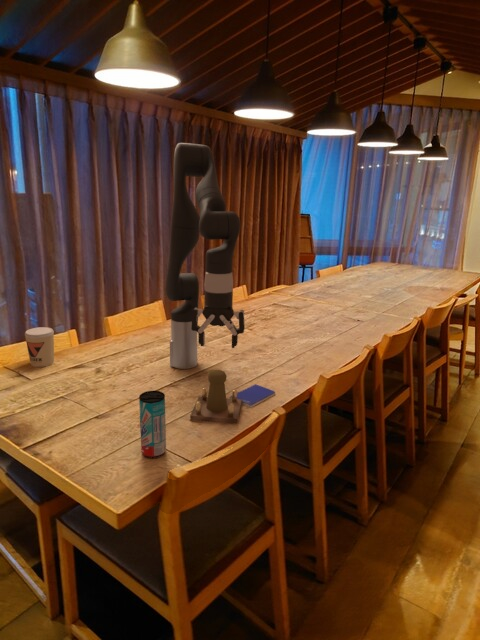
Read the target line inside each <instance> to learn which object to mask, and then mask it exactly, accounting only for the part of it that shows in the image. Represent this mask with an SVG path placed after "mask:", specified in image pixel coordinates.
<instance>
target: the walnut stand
mask: <svg viewBox="0 0 480 640" xmlns="http://www.w3.org/2000/svg"><path fill="white" fill-rule="evenodd" d="M237 393H238V389H236V388H234V389H231V396H232V399H230V397H229V398H228V397H226V400H227V409H226V410H224V411H221V412H212V411H209V410H208V409H207V408H206V405H207V399H208V388H207V387H205V386H203V387H201V396H199V395H198V397H197V399H196V401H195V403H194V406H193V408H192V411H191V414H190V415H189V416H190V421H192V422H193V421H194V422H204V423H205V422H207V423H219V424H234V425H238V422H239V421H238V420H239V417H240V414H241V413H240V412H241V408H242V405H243V404H242V399H237Z"/></svg>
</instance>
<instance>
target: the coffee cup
mask: <svg viewBox="0 0 480 640" xmlns="http://www.w3.org/2000/svg"><path fill="white" fill-rule="evenodd" d="M54 331H55V330H54V329H53V328H52V327H47V326H46V327H44V326H41V327H38V326H37V327H33V328H29V329H27V330H25V332H24V337H25V342H26V347H27V351H28V352H27V353H28V358H29V363H30V365H31V366H32V367H34V368H35V367H36V368H41V367H43V368H44V367H48V366H51V365H53V364H54V363H55V339H54V337H55V336H54V335H55V334H54V333H55V332H54Z"/></svg>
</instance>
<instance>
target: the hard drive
mask: <svg viewBox="0 0 480 640" xmlns="http://www.w3.org/2000/svg"><path fill="white" fill-rule="evenodd" d="M275 395H276V391H274V390H272V389H270V388H267V387H264V386H262V385H259V384H257V383H256V384H253V385H251V386H249V387H247V388H245V389H243V390H240V391H237V399H242V404H241V405H243V406H245V407H248V408H253V407H255V406H256V405H258V404H261V403H262V402H263V401H265V400H267V399H269V398H271V397H273V396H275ZM229 399H232V395H230V396H229Z"/></svg>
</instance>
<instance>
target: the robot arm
mask: <svg viewBox="0 0 480 640" xmlns="http://www.w3.org/2000/svg"><path fill="white" fill-rule="evenodd" d="M186 177H190V178H191V177H192V178H194V177H195V178H202V179H201V180H200V181H199V182H198V184H197V186H196V188H195V200H196V203H197V206H198V210H199V211H198V210H197V208H196V206H195V204H194V203H193V200H192V198H191V196H190V195H189V192H188V189H187V184H186ZM226 205H227V204H226V202H225V199H224V196H223V194H222V192H221V189H220V185H219V182H218V175H217V170H216V164H215V158H214V155H213V151H212V150H211V147H210V146H208V145H205V144H198V143H190V142H178V143H177V144H176V145H175V149H174V155H173V201H172V210H171V219H170V220H171V221H170V237H169V238H170V239H169V241H170V243H169V255H168V256H169V257H168V265H167V272H166V277H165V296H166V297H167V299H168V300H169V301H171V302H179V301H184V302H183V303H182V304H180V305H179V306H178V307H175V308H174V309H172V310H171V312H170V339H169V366H170V367H174V368H176V369H181V370H187V369H194V368H195V367H196V366H198V344H199V345H200V346H201V347H204V346H205V342H206V339H205V337H206V336H205V335H206V334H205V333H206V332H205V329H206V328H208V326H209V325H210V326H211V327H215V326H218V327H224V326H226V328H227V329H228V330H229V331H230V333H231V334H232V335H231V349H235V348H236V347H237V345H238V340H239V339H238V338H239V335H240V334H244V332H245V329H246V328H245V311H244V310H243V309H240V310H235V311H234V308H233V303H234V302H233V301H234V300H233V299H234V298H233V296H234V295H233V293H234V277H233V276H234V275H233V264H234V263H233V259H234V252H235V250H236V249H235V248H236V245H237V241H238V238H239V235H240V231H241V219H240V217H239V215H238V214H237V213H236V212H235V211H230V210H229V211H228V210H227V211H226V209H227V206H226ZM200 235H201V236H202V237H203V238H204V239H206V240H212V241H213V240H223V242H222V244H221V245H220V246H217V247H214V248H209V249H208V250H207V251H206V253H205V272H204V273H205V275H204V284H203V287H204V292H203V293H204V297H203V299H204V305H203V309H202V308H199V296H200V283H199V278H198V276H197V274H196V273H193V272H187V273H186V272H185V273H182V272H181V271H182V267H183V264H184V262H185V261H186V259H187V258H188V256H189V255H190V254H191V253H192V252H193V250H194V249H195V248H196V246H197V243H198V242H199V239H200ZM201 315H203V316H204V318H205V319H206V320H204V322H203V323H202V324H201V325H198V323H199V317H201ZM234 316H235V317H236V320H238V328H237V326H235V322H233V320H232V318H233V317H234Z"/></svg>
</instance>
